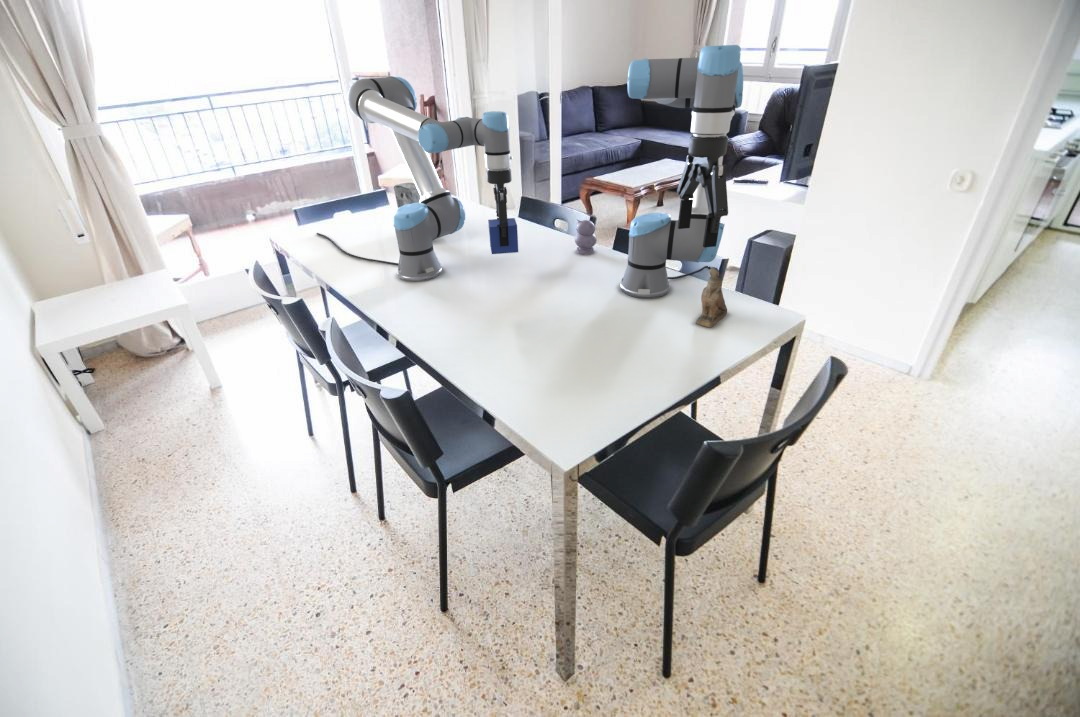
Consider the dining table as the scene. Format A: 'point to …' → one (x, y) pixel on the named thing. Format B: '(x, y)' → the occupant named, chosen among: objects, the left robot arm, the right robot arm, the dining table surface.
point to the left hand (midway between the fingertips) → (503, 241)
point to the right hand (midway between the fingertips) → (695, 237)
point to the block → (496, 238)
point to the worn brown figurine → (712, 301)
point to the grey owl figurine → (585, 237)
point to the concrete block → (406, 194)
